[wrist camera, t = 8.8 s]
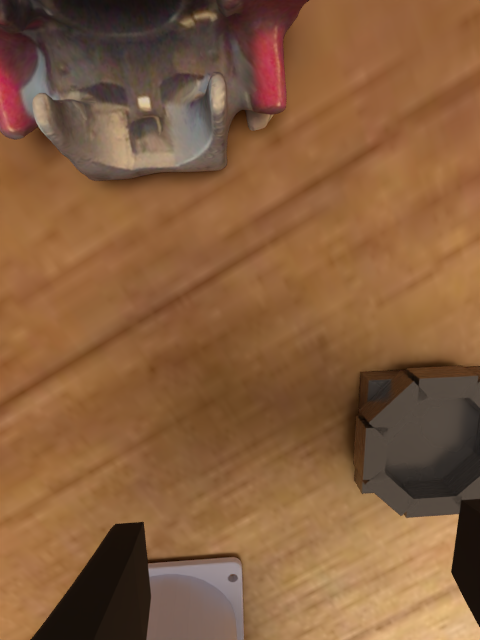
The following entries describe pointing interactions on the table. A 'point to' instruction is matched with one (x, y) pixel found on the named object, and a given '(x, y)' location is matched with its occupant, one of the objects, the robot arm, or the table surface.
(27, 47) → the brake caliper
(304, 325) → the table surface
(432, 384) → the stud mount
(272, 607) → the table surface
